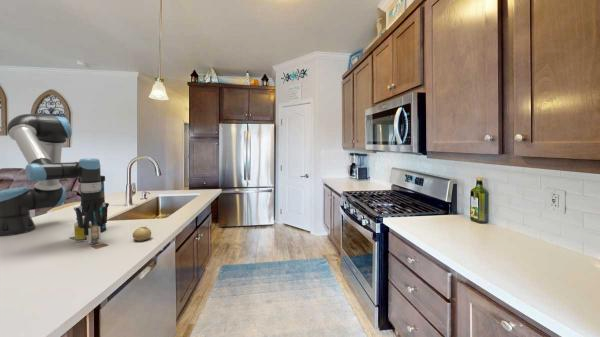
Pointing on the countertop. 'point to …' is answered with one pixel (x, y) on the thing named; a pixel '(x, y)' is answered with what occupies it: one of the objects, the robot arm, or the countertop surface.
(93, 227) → the tan wooden cylinder
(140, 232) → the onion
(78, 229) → the pill bottle
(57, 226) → the countertop surface
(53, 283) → the countertop surface
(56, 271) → the countertop surface
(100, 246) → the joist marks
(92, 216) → the advertising column
